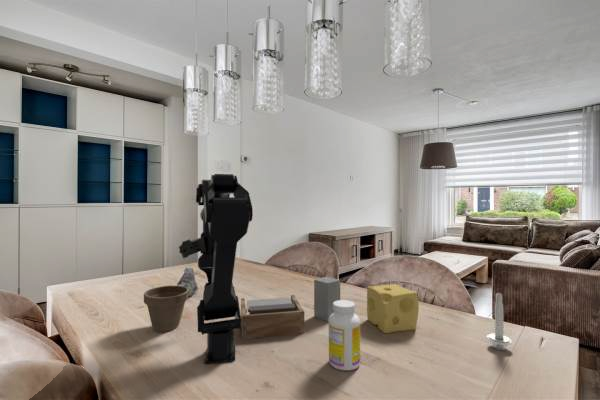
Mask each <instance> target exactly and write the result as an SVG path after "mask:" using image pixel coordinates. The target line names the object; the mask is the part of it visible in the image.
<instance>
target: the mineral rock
mask: <svg viewBox="0 0 600 400" xmlns="http://www.w3.org/2000/svg"><path fill="white" fill-rule="evenodd" d="M176 286H184V287H187V288H188V289H189V297H190V296H192V295H193V294H195V293H197V291H198V290H199V287H198V283H197V281H196V278H195V271H194V268H193V267H185V269H184V273H183V274H182V276H180V279H179V281H178V282H177V284H176Z"/></svg>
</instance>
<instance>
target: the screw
mask: <svg viewBox="0 0 600 400" xmlns="http://www.w3.org/2000/svg"><path fill="white" fill-rule="evenodd" d="M504 312H505V311H504V303H503V294H502V293H501V292H497V293H495V304H494V329H493V330H494V333H490V334H488V335H486V339H487V340H488V341H490V342H491V347H492V348H494V349H495V350H497V351H498V350H500V351H505V350H506V349H507V346H509V345H512V340H511V339H510V337H507V336H506V335H504V333H505V332H504V326H505V324H504V323H505V322H504V320H505V319H504V318H505V317H504V315H505V314H504Z"/></svg>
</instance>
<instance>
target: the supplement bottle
mask: <svg viewBox="0 0 600 400" xmlns="http://www.w3.org/2000/svg"><path fill="white" fill-rule="evenodd" d="M333 310H334V313H333V314H331V315H330V317H329V321H328V361H329V363H330V365H331V366H332V367H333V368H334V369H336V370H339V371H347V372H348V371H353V370H356V369H357V368H359V367H360V365H361V319H360V317H359V316H358V315H357V314H356V313H355V311H356V303H355V302H353V301H352V300H348V299H340V300H338V301H335V302H333Z"/></svg>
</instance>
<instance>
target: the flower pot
mask: <svg viewBox="0 0 600 400" xmlns="http://www.w3.org/2000/svg"><path fill="white" fill-rule="evenodd" d="M189 297H190V296H189V289H188V288H187V287H184V286H177V285H162V286H157V287H152V288H150V289H147V290H145V292H144V293H143V303H144V304H145V305H146V306H147V310H148V314H149V318H150V323H151V325H152V326H151V327H152V329H153V330H154V331H155V332H159V333H160V332H161V333H162V332H163V333H165V332H170V331H172V330H173V331H174V330H175V329H176V328H178V327H179V326H180V322H181V320H182V316H183V311H184V307H185V304H186V301H187V300H188V299H189Z"/></svg>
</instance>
